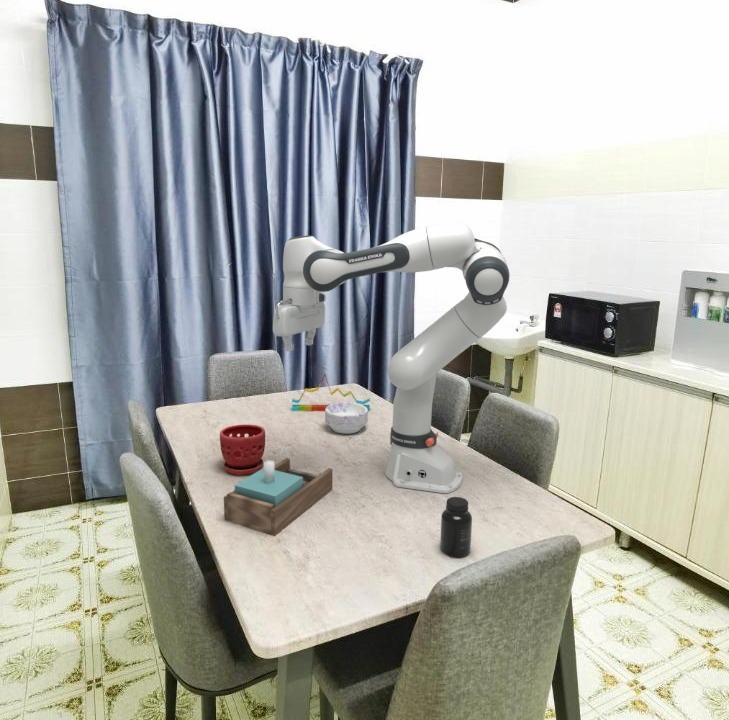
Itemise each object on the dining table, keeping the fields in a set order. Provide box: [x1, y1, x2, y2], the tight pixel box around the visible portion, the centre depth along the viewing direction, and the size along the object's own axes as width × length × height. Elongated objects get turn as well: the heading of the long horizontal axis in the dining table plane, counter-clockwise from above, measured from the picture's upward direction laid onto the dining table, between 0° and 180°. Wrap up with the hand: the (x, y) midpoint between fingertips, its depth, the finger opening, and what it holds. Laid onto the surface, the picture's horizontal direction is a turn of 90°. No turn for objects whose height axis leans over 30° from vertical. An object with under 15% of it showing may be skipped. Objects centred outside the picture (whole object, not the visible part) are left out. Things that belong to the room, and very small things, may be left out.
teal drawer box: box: [234, 459, 304, 508], centre depth 141 cm, size 12×12×12 cm
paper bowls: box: [324, 401, 369, 435], centre depth 201 cm, size 15×15×8 cm
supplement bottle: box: [439, 496, 473, 558], centre depth 127 cm, size 7×7×12 cm
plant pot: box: [219, 424, 266, 476], centre depth 167 cm, size 13×13×12 cm
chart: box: [291, 373, 371, 412], centre depth 221 cm, size 30×3×15 cm, turn 94°
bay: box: [223, 457, 333, 537], centre depth 146 cm, size 15×27×7 cm, turn 154°
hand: (299, 347), depth 155 cm, fingers open, 8 cm apart
